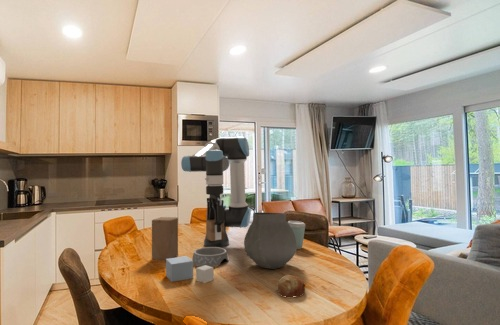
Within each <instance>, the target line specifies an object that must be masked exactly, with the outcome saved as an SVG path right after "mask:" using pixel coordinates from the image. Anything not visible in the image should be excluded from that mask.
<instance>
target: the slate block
mask: <svg viewBox="0 0 500 325" xmlns="http://www.w3.org/2000/svg"><path fill="white" fill-rule="evenodd" d="M165 275H166V277H167V278H168V280H169V281H170V282H172V283H174V282H178V281H183V280H191V279H194V265H193V261H192V258H190V257H189V256H187V255H183V256H176V257H174V258H169V259H166V260H165Z"/></svg>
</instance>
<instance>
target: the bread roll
mask: <svg viewBox="0 0 500 325" xmlns="http://www.w3.org/2000/svg"><path fill="white" fill-rule="evenodd" d="M305 288H306V284H305V283H304V282H303V281H302V279H300V277H298V276H295V275H291V274H285V275H284V276H282V277H281V278H280V279H279V281H277V289H276V292H277V291H278V292H277V293H278V295H279V296H281V295H282V296H286V297H285V298H287V297H293V296H300V295H302V294H303V295H304V294H305V292H306V291H305V290H306V289H305ZM303 295H302V296H303ZM282 296H281V297H282ZM300 297H301V296H300Z"/></svg>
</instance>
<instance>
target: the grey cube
mask: <svg viewBox="0 0 500 325" xmlns="http://www.w3.org/2000/svg"><path fill="white" fill-rule="evenodd" d="M214 267H215V266H212V267H210V266H207V265H204V266H197V267H196V268H195V277H196V278H195V280H196V281H198V282H199V283H200V282H201V283H203V284H206V283H208V282H211V281H214V279H215V278H214V277H215V276H214V275H215V274H214V271H215V270H214V269H215V268H214Z"/></svg>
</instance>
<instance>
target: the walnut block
mask: <svg viewBox="0 0 500 325" xmlns="http://www.w3.org/2000/svg"><path fill="white" fill-rule="evenodd" d="M215 223H216V221H215V219H214V220H207V219H206V220H205V224H206V225H205V226H206V227H205V228H206V229H205V230H206V232H205V236H206V238H207V239H208V240H210V241H217V240H215V225H214V224H215ZM220 240H224V223H222V224H221V239H220Z"/></svg>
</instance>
